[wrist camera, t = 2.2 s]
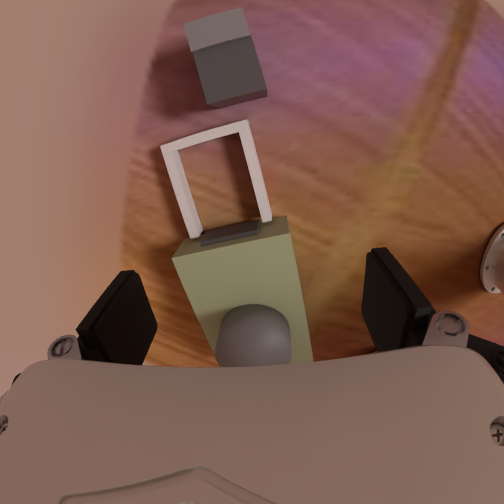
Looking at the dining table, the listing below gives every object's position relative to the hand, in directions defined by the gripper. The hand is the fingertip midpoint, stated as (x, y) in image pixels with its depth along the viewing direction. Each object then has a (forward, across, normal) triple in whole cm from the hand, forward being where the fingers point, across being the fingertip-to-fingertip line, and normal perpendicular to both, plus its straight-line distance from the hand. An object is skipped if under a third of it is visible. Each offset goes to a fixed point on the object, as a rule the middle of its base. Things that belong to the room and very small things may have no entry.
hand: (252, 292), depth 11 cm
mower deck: (+20, +3, +8) cm, 22 cm away
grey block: (+20, +1, -13) cm, 24 cm away
